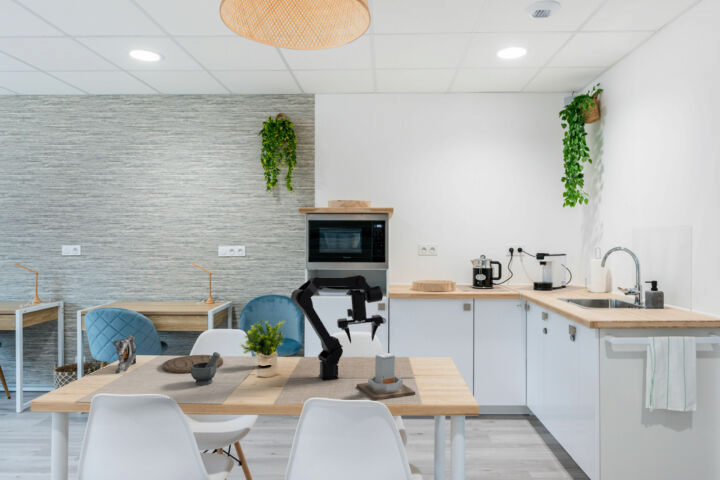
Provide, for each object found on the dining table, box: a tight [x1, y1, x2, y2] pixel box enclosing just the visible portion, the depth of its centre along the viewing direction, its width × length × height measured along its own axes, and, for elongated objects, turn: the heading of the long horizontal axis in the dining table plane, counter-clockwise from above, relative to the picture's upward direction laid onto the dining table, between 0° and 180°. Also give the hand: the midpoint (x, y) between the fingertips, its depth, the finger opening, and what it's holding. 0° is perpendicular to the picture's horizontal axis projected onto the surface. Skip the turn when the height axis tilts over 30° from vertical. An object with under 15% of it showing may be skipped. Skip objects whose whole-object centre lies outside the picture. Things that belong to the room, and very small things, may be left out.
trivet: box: [162, 354, 224, 374], centre depth 200 cm, size 25×25×2 cm
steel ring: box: [367, 375, 404, 393], centre depth 167 cm, size 12×12×3 cm
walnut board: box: [356, 382, 416, 401], centre depth 167 cm, size 16×16×1 cm
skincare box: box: [374, 352, 396, 384], centre depth 167 cm, size 6×4×12 cm
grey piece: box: [112, 334, 137, 374], centre depth 194 cm, size 15×4×13 cm, turn 7°
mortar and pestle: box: [190, 351, 221, 387], centre depth 174 cm, size 11×9×12 cm
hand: (361, 341), depth 189 cm, fingers open, 9 cm apart
